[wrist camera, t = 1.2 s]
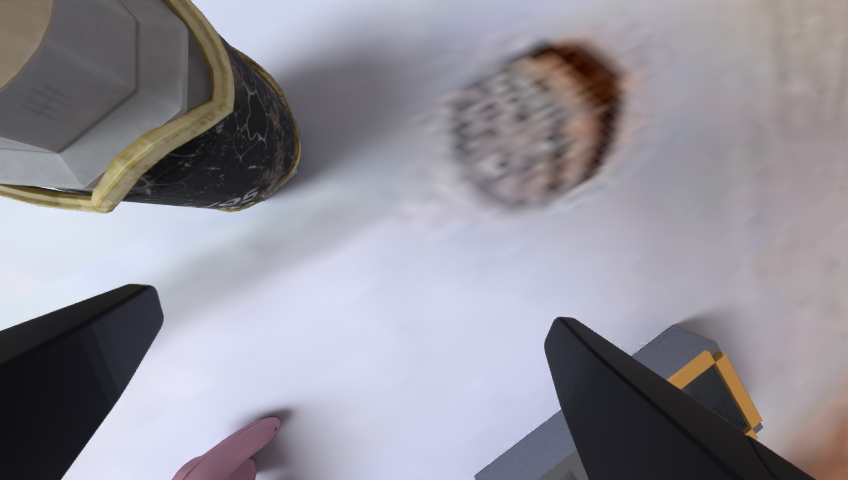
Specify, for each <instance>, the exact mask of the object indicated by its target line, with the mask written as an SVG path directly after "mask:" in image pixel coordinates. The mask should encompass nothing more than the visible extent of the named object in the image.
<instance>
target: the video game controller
mask: <svg viewBox="0 0 848 480" xmlns="http://www.w3.org/2000/svg"><path fill="white" fill-rule="evenodd" d="M280 425H281V422H280V420H279V419H278V418H277V417H268V418H264V419H261V420H258V421H256V422H254V423H251V424H249V425H247V426H245V427H244V428H242V429H240V430H238V431H237V432H235V433H233V434H232V435H230V436H228V437H227V438H226V439H224V440H223V441H222V442H220V443H219V444H217V445H216V446H215V447H213V448H212V449H211V450H209V451H208V452H206V453H205V454H204V455H202V456H199V457H196V458H194V459H192V460H190V461H189V462H188V463H186V464H185V465H184V466H183V467H182V468H181V469H180V470H179V471H178V472H177V473H176V474H175V476H174V477H173V479H172V480H255V477H256V465H255V463H254V461H253V460H252V459H248V458H249V457H251V456H252V455H253V454H255V453H256V452H257V451H258V450H260V449H261V448H262V447H264V446H265V445H266V444H268V443H269V442H270V440H271V439H272V438H273V437H274V436H275V435H276V433H277V432H278V430H279V428H280Z"/></svg>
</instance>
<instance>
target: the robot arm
mask: <svg viewBox="0 0 848 480" xmlns="http://www.w3.org/2000/svg"><path fill="white" fill-rule="evenodd" d="M163 320H164V316H163V311H162V308H161V304H160V300H159V297H158V293H157V290H156V289H155V287H153V286H151V285H142V284H128V285H124V286H122V287H119V288H116V289H114V290H111V291H108V292H105V293H103V294H100V295H97V296H94V297H92V298H89V299H86V300H83V301H81V302H78V303H75V304H73V305H70V306H67V307H64V308H62V309H59V310H56V311H53V312H51V313H48V314H45V315H43V316H40V317H37V318H34V319H32V320H29V321H26V322H23V323H21V324H18V325H15V326H12V327H10V328H7V329H4V330H2V331H0V480H61V479H62V478H63V476H64V475H65V473H66V472H67V471H68V469H69V468H70V466H71V465H72V464H73V462H74V461H75V460H76V458H77V457H78V455H79V454H80V453H81V451H82V450H83V448H84V447H85V446H86V444H87V443H88V442H89V440H90V439H91V437H92V436H93V435H94V433H95V432H96V430H97V429H98V428H99V426H100V425H101V424H102V422H103V421H104V419H105V418H106V417H107V415H108V414H109V412H110V411H111V410H112V408H113V407H114V405H115V404H116V402H117V401H118V399H119V398H120V397H121V395H122V393H123V392H124V390H125V389H126V387H127V385H128V384H129V382H130V380H131V379H132V377H133V375H134V373H135V372H136V370H137V368H138V367H139V365H140V363H141V361H142V360H143V358H144V356H145V355H146V353H147V351H148V349H149V348H150V346H151V344H152V343H153V341H154V339H155V337H156V336H157V334H158V332H159V331H160V329H161V327H162V324H163ZM544 349H545V354H546V357H547V361H548V364H549V368H550V371H551V375H552V379H553V382H554V386H555V389H556V393H557V396H558V400H559V403H560V406H561V409H562V412H563V415H564V418H565V421H566V423H567V426H568V428H569V431H570V434H571V436H572V439H573V441H574V444H575V446H576V449H577V452H578V454H579V457H580V459H581V462H582V464H583V467H584V470H585V472H586V475H587V477H588V480H816V479H814V478H813V477H811V476H810V475H808V474H806V473H805V472H803V471H802V470H800V469H799V468H797V467H796V466H794V465H793V464H791V463H790V462H788V461H787V460H785V459H784V458H782V457H781V456H779V455H778V454H776V453H775V452H773V451H772V450H770V449H769V448H767V447H766V446H764V445H763V444H761V443H760V442H758V441H757V440H755V439H754V438H752V437H751V436H749V435H745V433H744V432H743V431H742V430H740V429H739V428H737V427H736V426H734V425H733V424H731V423H730V422H728V421H727V420H725V419H724V418H722V417H721V416H719V415H718V414H716V413H715V412H713V411H712V410H710V409H709V408H707V407H706V406H704V405H703V404H701V403H700V402H698V401H697V400H695V399H694V398H692V397H691V396H689V395H688V394H686V393H685V392H683V391H682V390H681V389H679V388H678V387H676V386H675V385H673V384H672V383H670V382H669V381H667V380H666V379H664V378H663V377H661V376H660V375H658V374H657V373H655V372H654V371H652V370H651V369H649V368H648V367H646V366H645V365H643V364H642V363H640V362H639V361H637V360H636V359H634V358H633V357H631V356H630V355H628V354H627V353H625V352H624V351H622V350H621V349H619V348H618V347H616V346H615V345H613V344H612V343H610V342H609V341H608V340H606V339H605V338H603V337H602V336H600V335H599V334H597V333H596V332H594V331H593V330H591V329H590V328H588V327H587V326H585V325H584V324H582V323H581V322H579V321H578V320H576V319H574V318H571V317H557V318H556V319H555V320H554V321H553V324H552V326H551V328H550V330H549V333H548V335H547V337H546V339H545V343H544Z"/></svg>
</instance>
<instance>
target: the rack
mask: <svg viewBox="0 0 848 480" xmlns="http://www.w3.org/2000/svg"><path fill="white" fill-rule="evenodd" d="M632 357H633V358H634V359H636V360H637V361H639V362H640V363H642V364H643V365H645V366H646V367H648V368H649V369H651V370H652V371H654V372H655V373H657V374H658V375H660V376H661V377H663V378H664V379H666V380H667V381H669V382H670V383H672V384H673V385H675V386H676V387H678V388H679V389H681V390H682V391H683V392H685V393H686V394H688V395H689V396H691V397H692V398H694V399H695V400H697V401H698V402H700V403H701V404H703V405H704V406H706V407H707V408H709V409H710V410H712V411H713V412H715V413H716V414H718V415H719V416H721V417H722V418H724V419H725V420H727V421H728V422H730V423H731V424H733V425H734V426H736V427H737V428H739V429H740V430H742V431H743V432H744V433H745V435H749V436H751V437H752V438H754V439H755V440H756V439H758V438H757V436H756V433H757V432H758V431H760V430H761V429H762V428H763V426H762V425H761V423H760V422H761V421H762V419H761V417H760V415H759V413H758V411H757V410H756V408H755V406H754V404H753V402H752V401H751V399H750V397H749V395H748V393H747V392H746V390H745V388H744V386H743V384H742V383H741V381H740V379H739V377H738V375H737V373H736V372H735V370H734V368H733V366H732V364H731V363H730V361H729V359H728V357H727V355H726V354H724V353H722V352H721V351H720V349H719V347H718V345H717V343H716V342H714V341H712V340H709V339H707V338H704V337H701V336H699V335H696V334H694V333H691V332H688V331H686V330H683V329H681V328H678V327H675V326H673V325H672V326H671V327H670V328H668V329H667V330H666V331H665V332H663V333H662V334H661V335H659V336H658V337H657V338H655V339H654V340H653V341H651V342H650V343H649V344H647V345H646V346H645V347H643V348H642V349H641V350H640V351H638V352H637V353H636V354H634V355H633V356H632ZM474 477H475V480H588V477H587V475H586V472H585V470H584V467H583V464H582V462H581V459H580V457H579V454H578V452H577V449H576V446H575V444H574V441H573V439H572V436H571V434H570V431H569V428H568V426H567V423H566V421H565V418H564V415H563V412H562V410H561V411H559V412H558V413H557V414H555V415H554V416H553V417H551V418H550V419H549V420H547V421H546V422H545V423H544V424H542V425H541V426H540V427H538V428H537V429H536V430H534V431H533V432H532V433H530V434H529V435H528V436H526V437H525V438H524V439H522V440H521V441H520V442H519V443H517V444H516V445H515V446H513V447H512V448H511V449H509V450H508V451H507V452H505V453H504V454H503V455H501V456H500V457H499V458H498V459H496V460H495V461H494V462H492V463H491V464H490V465H488V466H487V467H486V468H484V469H483V470H482V471H480V472H479V473H478V474H476V475H475V476H474Z"/></svg>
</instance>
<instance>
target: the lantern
mask: <svg viewBox="0 0 848 480" xmlns="http://www.w3.org/2000/svg"><path fill="white" fill-rule="evenodd" d="M300 154H301V140H300V135H299V131H298V127H297V124H296V121H295V119H294V117H293V114H292V112H291V110H290V107H289V105H288V102H287V100H286V98H285V96H284V94H283V92H282V90H281V88H280V87H279V85H278V84H277V83H276V81H275V80H274V79H273V77H272V76H271V75H270V74H269V73H267V72H266V71H265V70H264V69H263V68H262V67H261V66H260V65H259V64H257V63H256V62H255V61H253V60H252V59H251V58H249V57H248V56H247V55H245V54H244V53H242V52H240V51H239V50H237V49H235V48H234V47H232V46H230V45H229V44H228V43H227V42H226V41H225V40H224V39H223V38H222V37H221V36H220V35H219V34H218V33H217V31H216V30H215V29H214V27H213V26H212V25H211V24H210V22H209V21H208V20H207V18H206V17H205V16H204V15H203V13H202V12H201V11H200V10H199V9H198V8H197V7H196V6H195V5H194V4H193V3H192V1H191V0H0V196H2V197H6V198H10V199H14V200H17V201H21V202H25V203H29V204H32V205H36V206H42V207H50V208H58V209H66V210H76V211H87V212H97V213H108V212H112V211H113V210H114V209H115V207H116V206H117V205H118V204H119V203H120V202H121V201H126V202H138V203H149V204H161V205H173V206H185V207H196V208H208V209H217V210H220V211H226V212H235V211H240V210H243V209H246V208H249V207H251V206H253V205H255V204H257V203H259V202H261V201H265V200H266V199H267V198H269V197H270V196H271V195H272V194H273V193H274V192H276V191H277V190H278V189H279V188H280V187H282V186H283V185H284V184H285V183H286V182H288V181H289V180H290V179H291V178H292V177H293V176H295V175H296V174H297V173H298V172H299V159H300ZM36 186H38V187H36ZM41 187H52V188H56V189H59V190H62V191H58V190H52V189H47V188H41ZM63 191H65V192H63Z"/></svg>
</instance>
